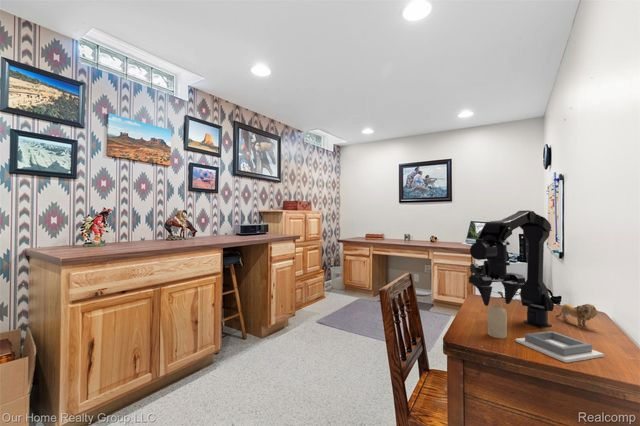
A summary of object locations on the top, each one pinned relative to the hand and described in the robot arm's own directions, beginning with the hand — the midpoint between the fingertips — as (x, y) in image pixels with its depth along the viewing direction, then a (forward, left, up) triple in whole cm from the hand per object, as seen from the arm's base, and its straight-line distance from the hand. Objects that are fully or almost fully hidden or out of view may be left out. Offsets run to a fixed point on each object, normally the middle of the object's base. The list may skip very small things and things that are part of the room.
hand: (497, 304), depth 100 cm
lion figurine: (-40, -1, -11) cm, 41 cm away
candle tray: (-9, +13, -10) cm, 19 cm away
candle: (0, 0, -11) cm, 11 cm away
